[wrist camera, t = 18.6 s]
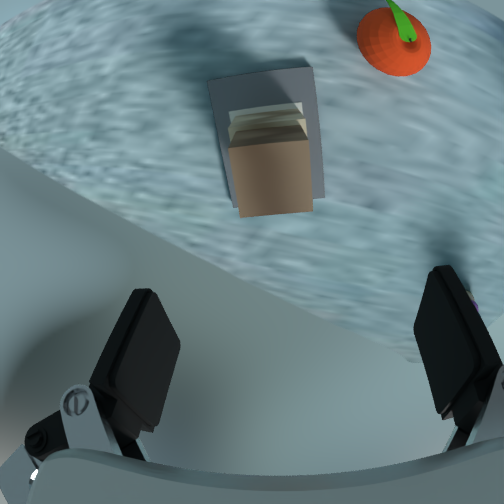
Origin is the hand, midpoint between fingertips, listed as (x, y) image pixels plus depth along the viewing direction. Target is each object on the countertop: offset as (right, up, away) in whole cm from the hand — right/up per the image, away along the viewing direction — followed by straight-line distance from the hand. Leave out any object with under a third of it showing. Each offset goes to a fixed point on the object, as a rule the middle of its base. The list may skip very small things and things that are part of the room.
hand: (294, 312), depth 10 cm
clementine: (+11, +23, +12) cm, 28 cm away
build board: (0, +14, +19) cm, 23 cm away
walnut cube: (0, +9, +13) cm, 16 cm away
